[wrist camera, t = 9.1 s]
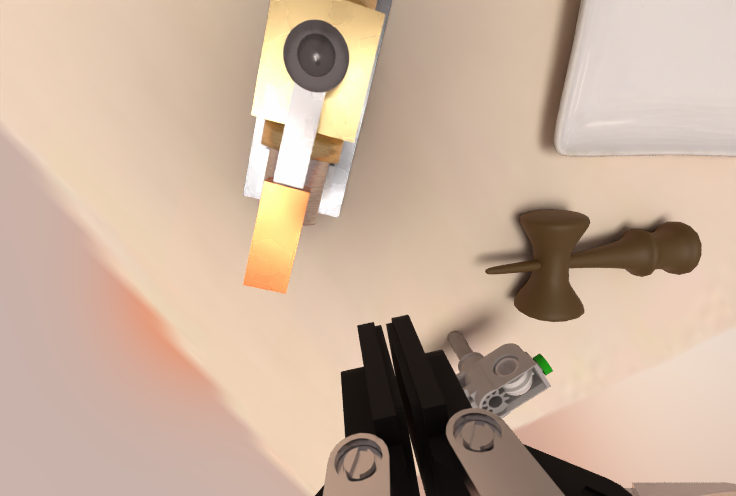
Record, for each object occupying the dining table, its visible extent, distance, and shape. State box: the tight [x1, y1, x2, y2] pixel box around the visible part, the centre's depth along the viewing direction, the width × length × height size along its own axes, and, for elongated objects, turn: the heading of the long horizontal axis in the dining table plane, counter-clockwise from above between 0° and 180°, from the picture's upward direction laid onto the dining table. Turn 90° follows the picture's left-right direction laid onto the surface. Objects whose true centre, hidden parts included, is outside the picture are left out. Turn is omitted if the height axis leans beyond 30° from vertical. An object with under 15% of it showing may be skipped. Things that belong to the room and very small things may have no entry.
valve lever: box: [243, 20, 349, 294], centre depth 20 cm, size 14×3×2 cm, turn 164°
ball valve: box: [243, 0, 392, 226], centre depth 25 cm, size 20×8×11 cm, turn 165°
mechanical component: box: [448, 331, 553, 418], centre depth 35 cm, size 3×10×10 cm, turn 124°
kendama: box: [485, 210, 701, 322], centre depth 35 cm, size 6×10×20 cm
